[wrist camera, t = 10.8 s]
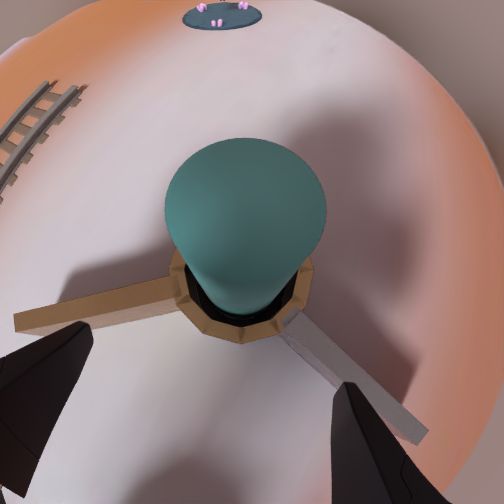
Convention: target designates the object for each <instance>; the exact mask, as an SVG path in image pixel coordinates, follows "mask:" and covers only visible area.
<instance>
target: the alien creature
mask: <svg viewBox="0 0 504 504" xmlns="http://www.w3.org/2000/svg"><path fill="white" fill-rule="evenodd" d="M220 1H222V0H220ZM223 1H225V0H223ZM261 18H262V14H261V12H260V11H259V10H257V9H256V8H254V7H252V6H249V5H248V3H247V2H246V3H245V4H244V2H242V1H241V2H240V3H228V2H222V3H215V4H208V5H206V4H203V3H201V4H200V6H197V7H196V8H194V9H192V10H189V12H187V13H186V14H185V15H184V17H183V19H182V21H183V23H184V24H185V25H186V26H188V27H191V28H195V29H201V30H230V29H237V28H243V27H247V26H250V25H253V24H255V23H257V22H258V21H260V20H261Z"/></svg>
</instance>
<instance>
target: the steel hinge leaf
mask: <svg viewBox="0 0 504 504" xmlns="http://www.w3.org/2000/svg"><path fill="white" fill-rule="evenodd" d="M290 282H291V279H290V280H289V281H288V283H287V284H286V285H285V286H286V287H285V291H284V295H283V299H282V303H281V307H280V309H281V308H282V307H283V306H284V305H285V304H286V300H287V295H288V291H289V287H290ZM191 283H192V287H193V292H194V296H195V300H196V304H197V305H198V306H199V307H200V308H201V305H200V301H199V297H198V293H197V289H196V283H197V279H196V277H195V276H194V274H193V273H192V275H191ZM201 309H202V308H201ZM280 309H279V310H280ZM202 310H203V309H202ZM279 310H278V311H279ZM203 311H204V310H203ZM278 311H277V312H278ZM292 311H293V312H292ZM299 311H300V309H299V308H298V307H296V306H295V307H294V308H293V309H292V310H291V311H290V312H289V313H288V314H287V315H286V316H285V317H284V318H283V319H282V320H281V322H280V324H281V325H283V324H285V325H283V326H286V325H287V326H286V328H285V329H284V330H283V331H282V332H281V333H280V334H278V335H279V336H280V337H281V338H282V339H283V340H284V341H285V342H286V343H287V344H288V345H289V346H290V347H292V348H293V349H294V350H295V351H296V352H297V353H298V354H299V355H300V356H301V357H302V358H303V359H305V360H306V361H307V362H308V363H309V364H310V365H311V366H312V367H313V368H314V369H315V370H317V371H318V372H319V373H320V374H321V375H322V376H323V377H324V378H325V379H327V380H328V381H329V382H330V383H331V384H332V385H333V386H334V387H335V388H337V389H339V387H340V386H341V384H342V383H343V382H345V381H346V382H354V383H356V384H357V386H358V387H359V389H360V390H361V391H362V393H363V394H364V395H365V397H366V398H367V399H368V401H369V402H370V404H371V405H372V406H373V408H374V409H375V410H376V412H377V413H378V415H379V416H380V417H381V419H382V420H383V421H384V423H385V424H386V426H387V427H388V428H389V430H390V431H391V432H392V434H393V435H395V436H397V437H400V438H402V439H404V440H406V441H408V442H410V443H412V444H414V445H418V444H419V443H420V442H421V440H422V439H423V438H424V436H425V435H426V434H427V432H428V431H429V430H428V429H427V428H426V427H425V426H424V425H423V424H422V423H421V422H419V421H418V420H417V419H416V418H415V417H414V416H413V415H412V414H411V413H410V412H409V411H408V410H406V409H405V408H404V407H403V406H402V405H401V404H400V403H399V402H398V401H397V400H396V399H395V398H393V397H392V396H391V395H390V394H389V393H388V392H387V391H386V390H385V389H384V388H383V387H382V386H381V385H379V384H378V383H377V382H376V381H375V380H374V379H373V378H372V377H371V376H370V375H369V374H368V373H367V372H365V371H364V370H363V369H362V368H361V367H360V366H359V365H358V364H357V363H356V362H355V361H354V360H353V359H352V358H351V357H349V356H348V355H347V354H346V353H345V352H344V351H343V350H342V349H341V348H340V347H339V346H338V345H337V344H336V343H335V342H333V341H332V340H331V339H330V338H329V337H328V336H327V335H326V334H325V333H324V332H323V331H322V330H321V329H320V328H319V327H318V326H317V325H315V324H314V323H313V322H312V321H311V320H310V319H309V318H308V317H307V316H306V315H305V314H304V313H303V312H302V311H300V312H299ZM277 312H276V313H277ZM276 313H275V314H276ZM297 313H298V315H296V314H297ZM275 314H274V315H275ZM294 314H295V315H294ZM274 315H273V316H274ZM273 316H272V317H273ZM272 317H271V318H272ZM289 317H290V318H291V319H290V318H289ZM294 317H295V318H294ZM271 318H270V319H271ZM270 319H269V320H270ZM291 320H292V321H291ZM282 321H283V322H282ZM287 321H288V322H287ZM289 322H290V323H289Z"/></svg>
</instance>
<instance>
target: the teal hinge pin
mask: <svg viewBox="0 0 504 504" xmlns="http://www.w3.org/2000/svg"><path fill="white" fill-rule="evenodd" d="M165 220H166V224H167V228H168V231H169V234H170V236H171V238H172V240H173V242H174V244H175V245H176V247H177V249H178V250H179V252H180V253H181V255H182V257H183V258H184V260H185V262H186V263H187V265H188V266H189V268H190V270H191V271H192V273H193V274H194V276H195V277H196V279H197V281H198V282H199V284H200V285H201V287H202V288H203V290H204V291H205V293H206V295H207V296H208V298H209V299H210V301H211V302H212V304H213V305H214V307H215V308H216V309H217V310H218V311H219V312H220V313H222V314H223V315H225V316H227V317H229V318H232V319H236V320H246V319H251V318H254V317H256V316H258V315H259V314H261V313H262V312H263V311H264V310H265V309H266V308H267V307H268V306H269V305H270V303H271V302H272V301H273V300H274V299H275V297H276V296H277V295H278V294H279V292H280V291H281V290H282V289H283V288H284V286H285V285H286V284H287V283H288V281H289V280H290V279H291V278H292V276H293V275H294V274H295V273H296V271H297V270H298V269H299V268H300V266H301V265H302V264H303V262H304V261H305V260H306V259H307V257H308V256H309V255H310V254H311V252H312V251H313V250H314V248H315V247H316V245H317V243H318V242H319V240H320V237H321V235H322V233H323V230H324V226H325V221H326V201H325V196H324V192H323V189H322V187H321V184H320V182H319V180H318V178H317V176H316V175H315V173H314V172H313V171H312V169H311V168H310V167H309V166H308V165H307V164H306V162H305V161H303V160H302V159H301V158H300V157H299V156H298V155H296V154H295V153H293V152H292V151H290V150H288V149H287V148H285V147H283V146H280V145H278V144H276V143H273V142H269V141H266V140H261V139H254V138H235V139H228V140H224V141H220V142H217V143H214V144H211V145H209V146H207V147H205V148H203V149H201V150H199V151H198V152H196V153H195V154H193V155H192V156H191V157H190V158H188V159H187V160H186V161H185V162H184V163H183V164H182V166H181V167H180V168H179V169H178V171H177V172H176V173H175V175H174V177H173V179H172V181H171V182H170V185H169V188H168V190H167V194H166V199H165Z"/></svg>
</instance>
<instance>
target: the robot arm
mask: <svg viewBox="0 0 504 504" xmlns="http://www.w3.org/2000/svg"><path fill="white" fill-rule="evenodd" d="M92 346H93V335H92V331H91V327H90V325H89V323H87V322H84V321H81V320H79V321H76V322H74V323H72V324H70V325H68V326H66V327H64V328H62V329H60V330H58V331H55V332H53V333H51V334H49V335H47V336H45V337H43V338H41V339H39V340H37V341H35V342H33V343H31V344H29V345H27V346H25V347H23V348H20V349H18V350H16V351H14V352H12V353H10V354H8V355H6V357H5V356H4V357H2V358H0V504H6V502H5V500H4V496H3V493H2V490H1V489H2V487H3V486H4V487H6V488H7V489H9V490H10V491H12V492H14V493H15V494H17V495H19V496H20V497H22V498H25V496H26V493H27V490H28V488H29V485H30V482H31V480H32V477H33V475H34V472H35V470H36V467H37V465H38V462H39V459H40V457H41V455H42V452H43V450H44V448H45V446H46V443H47V441H48V439H49V437H50V435H51V432H52V430H53V428H54V426H55V424H56V422H57V420H58V418H59V416H60V414H61V412H62V410H63V408H64V406H65V404H66V402H67V400H68V398H69V396H70V394H71V392H72V390H73V388H74V386H75V384H76V383H77V381H78V379H79V377H80V374H81V372H82V370H83V367H84V365H85V362H86V360H87V357H88V355H89V353H90V350H91V348H92ZM331 472H332V504H452V503H450V502H448V501H447V500H446V499H445V498H444V497H443V496H442V495H441V494H440V493H439V492H438V490H437V489H436V488H435V487H434V486H433V485H432V484H431V483H430V482H429V481H428V480H427V478H426V477H425V476H424V475H423V474H422V473H421V472H420V470H419V469H418V468H417V466H416V465H415V464H414V463H413V461H412V460H411V458H410V457H409V456H408V454H406V452H405V450H404V449H403V448H402V446H401V445H400V443H399V442H398V441H397V439H396V438H395V437H394V435H393V434H392V432H391V431H390V430H389V428H388V427H387V426H386V424H385V423H384V421H383V420H382V419H381V417H380V416H379V415H378V413H377V412H376V410H375V409H374V408H373V406H372V405H371V404H370V402H369V401H368V399H367V398H366V397H365V395H364V394H363V393H362V391H361V390H360V389H359V387H358V386H357V384H356V383H354V382H346V381H345V382H343V383H342V384H341V386H340V387H339V389H338V390H337V392H336V393H335V395H334V398H333V409H332V424H331Z"/></svg>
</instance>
